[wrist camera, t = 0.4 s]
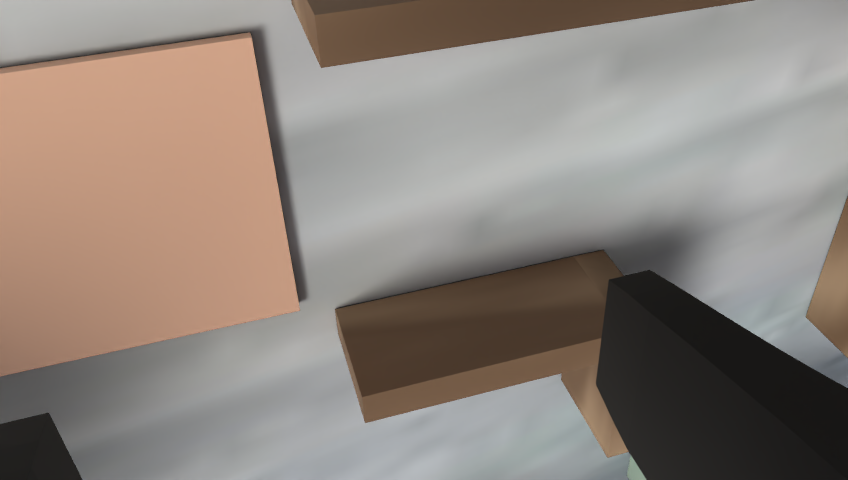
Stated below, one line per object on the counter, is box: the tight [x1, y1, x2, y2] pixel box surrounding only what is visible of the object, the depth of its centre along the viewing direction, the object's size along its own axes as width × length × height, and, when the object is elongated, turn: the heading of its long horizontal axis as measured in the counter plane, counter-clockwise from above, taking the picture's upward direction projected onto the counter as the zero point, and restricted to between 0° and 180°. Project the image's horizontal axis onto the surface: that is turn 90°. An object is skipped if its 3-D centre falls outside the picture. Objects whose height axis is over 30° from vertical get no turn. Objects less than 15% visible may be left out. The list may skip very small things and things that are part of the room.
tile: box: [0, 32, 300, 376], centre depth 19 cm, size 8×8×1 cm
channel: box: [291, 0, 848, 458], centre depth 22 cm, size 16×18×4 cm
